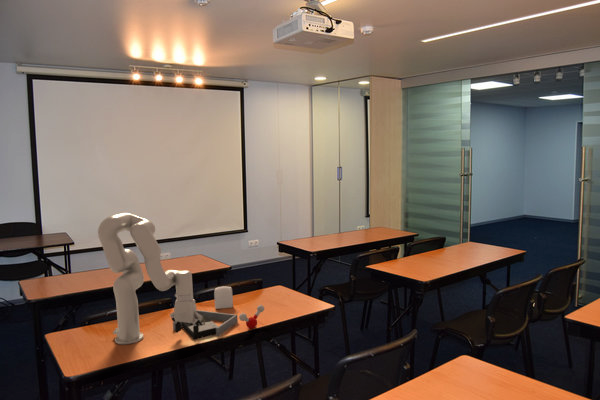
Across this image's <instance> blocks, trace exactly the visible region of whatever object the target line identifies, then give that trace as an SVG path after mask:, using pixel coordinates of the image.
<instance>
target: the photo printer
mask: <svg viewBox="0 0 600 400" xmlns="http://www.w3.org/2000/svg"><path fill="white" fill-rule="evenodd" d="M213 291H214V292H213V293H214V294H213V296H214V297H213V298H214V309H216V310H219V309H229V308H233V307H234V298H233V288H232V287H231V286H224V285H223V286H218V287H216V288H214V290H213Z"/></svg>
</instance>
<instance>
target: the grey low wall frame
mask: <svg viewBox="0 0 600 400" xmlns="http://www.w3.org/2000/svg"><path fill="white" fill-rule="evenodd" d="M197 313H198V314H200V315H201V316H203V317H204V316H207V317H208V318H209V319H210V320H211V321H218V322H223V323H221V324H220V325H217V326H218V327H217V328H216V335H215V337H219V336H221V335H222V334H224V333H225V332H226V331H228V330H230V328H232V327H233V326H234V325H236V324H237V323H239V322H238V321H239V320H238V319H239V318H238V314H234V313H233V314H231V313H224V312H216V311H208V310H207V311H206V310H199V309H197ZM197 318H198V317H197ZM180 323H181V327H182V322H180ZM172 327H173V328H172V330H173V331H176V327H175V324H174V322H173V321H172Z"/></svg>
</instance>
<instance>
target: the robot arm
mask: <svg viewBox="0 0 600 400" xmlns="http://www.w3.org/2000/svg"><path fill="white" fill-rule="evenodd" d="M125 231H127V232H129V233H130V237H131V238H132V240H133V241H134V243H135V245H136V247H137V248H138V250H139V252H140V253H141V255H142V257H143V260H144V266H145V271H146V273H147V275H148V278H149V279H150V282H151V283H152V284H153V286H154V287H155V288H156V289H157V290H159V291H160V292H164V291H168V290H169V289H170V288H172V287H174V286H175V290H176V291H175V294H174V297H176V299H175V300H174V301H175V302H174V309H173V311H174V312H171V313H170V314H169V316H170V318H171V321H172V323H173V322H174V324H175V327H176V330H175V333H179V332H180V331H182V326H181V323H180V322H187V323H191V322H192V323H193V325H194V326H193V332H194V334H197V333H198V332H199V326H198V324H199V323H200V322H201V320H202V318H203V316H201V315H200V314H198V313H197V310H198V309H197V305H196V300H195V299H194V292H193V291H194V290H193V275H192V271H190V270H187V269H185V270H176V269H175V270H174V269H167V270H165V271H164V268H163V266H162V263H161V253H162V248H161V246H160V245H159V243H158V241H157V239H156V238H155V236H154V234H155V232H156V227H155V224H154V223H153V222H152V221H150V220H148V219H146V218H143V217H139V216H137V215H135V214H131V213H129V212H121V213H117V214H116V213H115V214H113V215H110V216H107V217H106V218H105V219H103V220H102V221H101V222H100V223H99V226H98V229H97V234H98V238H99V241H100V243H101V246H102V249H103V252H104V255H105V256H104V257H105V259H106V261H107V264H108V267H109V269H110V271H111V272H113V273H116V274H119V273H122V274H121V275H119V276H118V277H117V278H116V279H115V280H114V282H113V286H112V287H113V288H112V289H113V293H114V298H115V304H116V318H117V327H116V328H115V329H114V330H113V331H112V334H113V335H116V337H115V338H114V340H115V341H114V342H115V343H116V344H118V345H131V344H135V343H137V342H139V341H142V340H143V338H144V333H142V332H140V331H141V330H140V328H141V327H140V314H139V301H138V296H137V293H136V290H138V289H139V288H141V287H142V285H143V284H144V282H145V277H144V272H143V269H142V267H141V263H140V260H139V258H138V255H137V254H136V252H134V251H133V250H132V249H128V248H124V245H123V242H122V240H121V238H120V237H119V236H118V234H119V233H122V232H125ZM197 317H198V320H197Z"/></svg>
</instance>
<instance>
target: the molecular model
mask: <svg viewBox="0 0 600 400" xmlns="http://www.w3.org/2000/svg"><path fill="white" fill-rule="evenodd" d="M264 311H265V306H264V305H262V304H259V305H258V306H257V308H256V312H255V314H254V315H253V316H250V317H247V316H248V315H247V314H246V313H245V312H242V313H240V314H239V315H238V316H239V317H238V319H239V320H240V321H242V322H244V321H245V326H246V327H247V328H248V329H251V330H252V329H255V328H257V326H258V320H257V319H258V317H259V316H260V313H263V312H264Z"/></svg>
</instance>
